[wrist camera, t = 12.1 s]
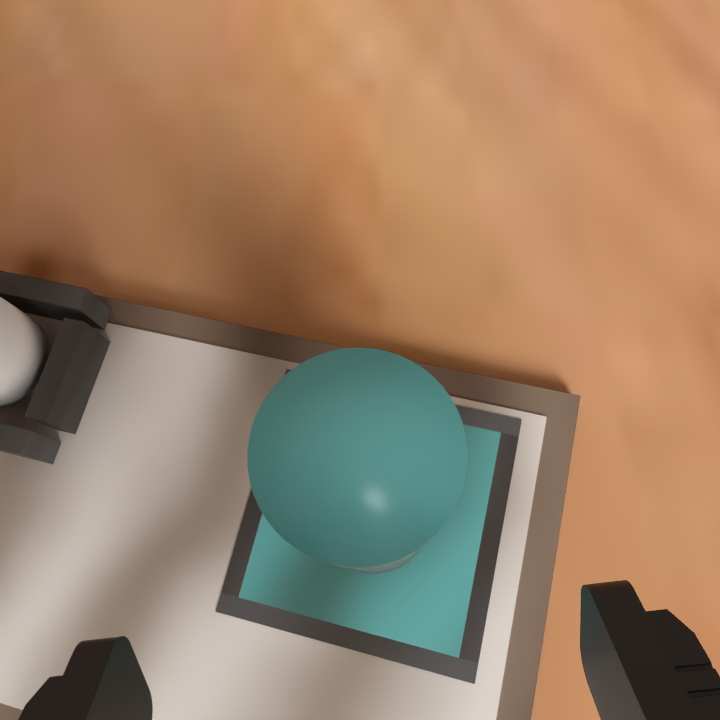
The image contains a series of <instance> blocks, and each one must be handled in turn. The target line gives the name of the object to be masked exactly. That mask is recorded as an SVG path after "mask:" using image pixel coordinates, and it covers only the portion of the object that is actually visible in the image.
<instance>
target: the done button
mask: <svg viewBox="0 0 720 720" xmlns="http://www.w3.org/2000/svg"><path fill="white" fill-rule="evenodd" d="M48 356H49V344H48V339H47V337H46V334H45V332H44V330H43V328H42V327H41V326H40V325H39V324H38V323H37V322H36V321H35V320H34V319H32V318H31V317H29V316H28V315H26V314H25V313H23V312H22V311H20V310H19V309H18V308H16V307H15V306H13V305H12V304H10V303H9V302H7V301H6V300H4V299H3V298H1V297H0V407H5V406H7V405H10V404H12V403H14V402H16V401H18V400H20V399H21V398H23V397H24V396H25V395H27V394H28V393H29V392H30V391H31V390H32V389H33V388H34V387H35V386H36V384H37V383H38V381H39V379H40V376H41V374H42V371H43V369H44V366H45V364H46V361H47V359H48Z"/></svg>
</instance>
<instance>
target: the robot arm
mask: <svg viewBox="0 0 720 720" xmlns="http://www.w3.org/2000/svg"><path fill="white" fill-rule="evenodd" d="M580 650H581V658H582V663H583V668H584V672H585V676H586V679H587V683H588V686H589V688H590V691H591V694H592V696H593V699H594V702H595V704H596V707H597V710H598V713H599V715H600V718H601V720H720V677H719V675H718V673H717V671H716V670H715V669H713V667H712V664H711V661H710V659H709V658H708V656H707V654H706V652H705V651H704V649H703V647H702V646H701V644H700V642H699V640H698V639H697V637H696V635H695V633H694V632H692V631H691V630H690V629H689V628H688V627H687V626H686V625H684V624H683V623H682V622H681V621H680V620H679V619H678V618H676V617H675V616H674V615H673V614H672V613H671V612H670V611H668V610H667V609H664V610H655V611H645V609H644V608H643V606H642V604H641V602H640V600H639V598H638V596H637V594H636V592H635V590H634V588H633V587H632V585H631V584H630V583H629V582H628V581H627V580H623V581H614V582H605V583H596V584H588V585H583V586H582V589H581V624H580ZM152 713H153V706H152V697H151V692H150V689H149V687H148V685H147V682H146V680H145V677H144V675H143V672H142V670H141V668H140V665H139V663H138V660H137V658H136V655H135V653H134V651H133V648H132V646H131V643H130V641H129V640H128V638H127V637H125V636H119V637H111V638H102V639H93V640H85V641H81V642H80V643H79V644H78V645H77V646H76V647H75V649H74V651H73V653H72V656H71V658H70V660H69V662H68V665H67V667H66V669H65V671H64V674H63V675H61V676H52V677H49V678H48V679H47V680H46V682H45V683H44V684H43V685H42V686H41V687H40V689H39V690H38V691H37V692H36V693H35V694H34V696H33V697H32V698H31V699H30V700H29V701H28V702H27V704H26V705H25V707H24V709H23V711H22V713H21V715H20V717H19V719H18V720H152Z"/></svg>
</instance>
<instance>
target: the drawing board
mask: <svg viewBox="0 0 720 720" xmlns="http://www.w3.org/2000/svg"><path fill="white" fill-rule="evenodd" d="M0 297H1V298H3V299H4V300H6V301H7V302H9V303H10V304H12V305H13V306H15V307H16V308H18V309H19V310H20V311H22V312H23V313H25V314H26V315H28V316H29V317H31V318H32V319H34V320H35V321H36V322H37V323H38V324H39V325H40V326H41V327H42V328H43V330H44V332H45V334H46V337H47V339H48V344H49V356H48V359H47V361H46V364H45V366H44V369H43V371H42V374H41V376H40V379H39V381H38V383H37V384H36V386H35V387H34V388H33V389H32V390H31V391H30V392H29V393H28V394H27V395H25V396H24V397H23V398H21V399H20V400H18V401H16V402H14V403H12V404H10V405H7V406H5V407H0V720H18V719H19V717H20V715H21V713H22V711H23V709H24V707H25V705H26V704H27V702H28V701H29V700H30V699H31V698H32V697H33V696H34V694H35V693H36V692H37V691H38V690H39V689H40V687H41V686H42V685H43V684H44V683H45V682H46V680H47V679H48V678H49V677H52V676H61V675H63V674H64V671H65V669H66V667H67V665H68V662H69V660H70V658H71V656H72V653H73V651H74V649H75V647H76V646H77V645H78V644H79V643H80V642H81V641H85V640H93V639H102V638H111V637H119V636H125V637H127V638H128V640H129V641H130V643H131V646H132V648H133V651H134V653H135V655H136V658H137V660H138V663H139V665H140V668H141V670H142V672H143V675H144V677H145V680H146V682H147V685H148V687H149V689H150V692H151V697H152V706H153V713H152V720H531V715H532V708H533V702H534V695H535V689H536V682H537V676H538V669H539V663H540V656H541V650H542V643H543V637H544V630H545V624H546V617H547V610H548V604H549V597H550V591H551V584H552V578H553V571H554V565H555V558H556V552H557V545H558V539H559V532H560V526H561V519H562V513H563V506H564V500H565V493H566V487H567V480H568V474H569V467H570V461H571V454H572V448H573V441H574V434H575V428H576V421H577V415H578V408H579V402H580V396H579V395H574V394H569V393H564V392H559V391H555V390H550V389H545V388H540V387H535V386H531V385H526V384H521V383H516V382H511V381H506V380H502V379H497V378H492V377H487V376H482V375H478V374H473V373H468V372H463V371H458V370H453V369H449V368H444V367H439V366H434V365H429V364H425V363H420V362H415V361H412V362H414V363H416V364H417V365H419V366H421V367H422V368H423V369H425V370H426V371H427V372H428V373H430V374H431V375H432V376H433V377H434V378H435V379H436V380H437V381H438V382H439V383H440V384H441V385H442V386H443V388H444V389H445V390H446V392H447V393H448V394H449V396H450V397H451V399H452V401H453V402H454V404H455V406H456V408H457V410H458V412H459V415H460V417H461V420H462V422H463V426H464V430H465V434H466V440H467V449H468V458H467V471H466V477H465V482H464V485H463V488H462V492H461V495H460V497H459V499H458V501H457V504H456V506H455V508H454V510H453V511H452V513H451V514H450V516H449V518H448V519H447V521H446V522H445V523H444V524H443V526H442V527H441V528H440V530H439V531H438V532H437V533H436V534H435V536H434V537H433V538H432V539H431V540H430V541H429V542H428V543H427V544H426V545H425V546H424V547H423V548H422V549H420V550H419V551H418V553H417V554H416V555H415V556H414V557H413V558H412V559H411V560H410V561H409V562H407V563H406V564H405V565H403V566H401V567H399V568H398V569H395V570H392V571H390V572H385V573H375V574H374V573H365V572H360V571H358V570H355V569H348V568H343V567H338V566H335V565H332V564H329V563H326V562H324V561H321V560H318V559H315V558H313V557H310V556H309V555H307V554H305V553H303V552H301V551H299V550H297V549H296V548H295V547H293V546H292V545H291V544H289V543H288V542H286V541H285V540H284V539H283V538H282V537H281V536H280V535H279V534H278V533H277V532H276V531H275V530H274V529H273V527H272V526H271V525H270V524H269V522H268V521H267V520H266V518H265V517H264V515H263V513H262V512H261V510H260V508H259V506H258V504H257V502H256V499H255V497H254V495H253V492H252V488H251V484H250V480H249V474H248V466H247V450H248V442H249V436H250V432H251V428H252V424H253V422H254V419H255V417H256V414H257V412H258V410H259V408H260V406H261V404H262V403H263V401H264V399H265V397H266V396H267V395H268V393H269V392H270V391H271V389H272V388H273V387H274V386H275V385H276V384H277V383H278V382H279V380H280V379H281V378H282V377H283V376H285V375H286V374H287V373H288V372H290V371H291V370H292V369H293V368H295V367H296V366H298V365H300V364H301V363H303V362H304V361H306V360H308V359H310V358H313V357H315V356H317V355H320V354H323V353H326V352H329V351H333V350H338V349H343V348H347V347H343V346H338V345H333V344H328V343H323V342H319V341H314V340H309V339H304V338H299V337H294V336H290V335H285V334H280V333H275V332H270V331H266V330H261V329H256V328H251V327H246V326H241V325H237V324H232V323H227V322H222V321H217V320H212V319H208V318H203V317H198V316H193V315H188V314H184V313H179V312H174V311H169V310H164V309H159V308H155V307H150V306H145V305H140V304H135V303H131V302H126V301H121V300H116V299H111V298H106V297H102V296H97V295H94V294H93V293H91V292H90V291H89V290H88V289H86V288H81V287H76V286H71V285H67V284H62V283H57V282H52V281H47V280H42V279H38V278H33V277H28V276H23V275H18V274H13V273H8V272H4V271H0Z"/></svg>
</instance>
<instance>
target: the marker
mask: <svg viewBox="0 0 720 720" xmlns="http://www.w3.org/2000/svg"><path fill="white" fill-rule="evenodd" d="M467 458H468V449H467V440H466V434H465V430H464V426H463V422H462V420H461V417H460V415H459V412H458V410H457V408H456V406H455V404H454V402H453V401H452V399H451V397H450V396H449V394H448V393H447V392H446V390H445V389H444V388H443V386H442V385H441V384H440V383H439V382H438V381H437V380H436V379H435V378H434V377H433V376H432V375H431V374H430V373H428V372H427V371H426V370H425V369H423V368H422V367H421V366H419V365H417V364H416V363H414V362H412V361H411V360H409V359H407V358H404V357H402V356H400V355H398V354H395V353H391V352H388V351H385V350H379V349H374V348H361V347H355V348H343V349H338V350H333V351H329V352H326V353H323V354H320V355H317V356H315V357H313V358H310V359H308V360H306V361H304V362H303V363H301V364H300V365H298V366H296V367H295V368H293V369H292V370H291V371H290V372H288V373H287V374H286V375H285V376H283V377H282V378H281V379H280V380H279V382H278V383H277V384H276V385H275V386H274V387H273V388H272V389H271V391H270V392H269V393H268V395H267V396H266V397H265V399H264V401H263V403H262V404H261V406H260V408H259V410H258V412H257V414H256V417H255V419H254V422H253V424H252V428H251V432H250V436H249V442H248V450H247V466H248V474H249V480H250V484H251V488H252V492H253V495H254V497H255V499H256V502H257V504H258V506H259V508H260V510H261V512H262V513H263V515H264V517H265V518H266V520H267V521H268V522H269V524H270V525H271V526H272V527H273V529H274V530H275V531H276V532H277V533H278V534H279V535H280V536H281V537H282V538H283V539H284V540H285V541H286V542H288V543H289V544H291V545H292V546H293V547H295V548H296V549H297V550H299V551H301V552H303V553H305V554H307V555H309V556H310V557H313V558H315V559H318V560H321V561H324V562H326V563H329V564H332V565H335V566H338V567H343V568H348V569H355V570H358V571H360V572H365V573H374V574H375V573H385V572H390V571H392V570H395V569H398V568H399V567H401V566H403V565H405V564H406V563H407V562H409V561H410V560H411V559H412V558H413V557H414V556H415V555H416V554H417V553H418V551H419V550H420V549H422V548H423V547H424V546H425V545H426V544H427V543H428V542H429V541H430V540H431V539H432V538H433V537H434V536H435V534H436V533H437V532H438V531H439V530H440V528H441V527H442V526H443V524H444V523H445V522H446V521H447V519H448V518H449V516H450V514H451V513H452V511H453V510H454V508H455V506H456V504H457V501H458V499H459V497H460V495H461V492H462V488H463V485H464V482H465V477H466V471H467Z"/></svg>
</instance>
